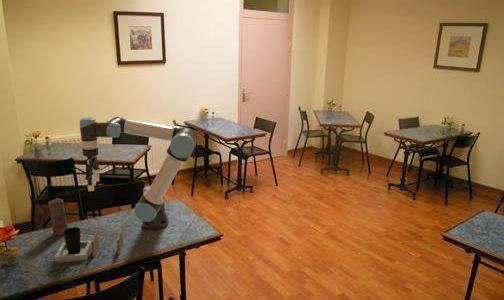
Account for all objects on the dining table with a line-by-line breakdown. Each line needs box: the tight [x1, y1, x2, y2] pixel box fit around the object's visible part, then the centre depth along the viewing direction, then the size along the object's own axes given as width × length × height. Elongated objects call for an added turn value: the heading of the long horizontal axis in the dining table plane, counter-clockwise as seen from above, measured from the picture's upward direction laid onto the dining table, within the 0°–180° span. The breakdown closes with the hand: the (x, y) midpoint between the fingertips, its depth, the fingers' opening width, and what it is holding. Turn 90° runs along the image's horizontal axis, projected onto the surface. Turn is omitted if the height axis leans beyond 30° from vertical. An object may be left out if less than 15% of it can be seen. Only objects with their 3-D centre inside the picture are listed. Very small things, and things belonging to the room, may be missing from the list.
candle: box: [48, 198, 69, 236], centre depth 204 cm, size 8×7×20 cm
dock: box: [54, 240, 92, 264], centre depth 187 cm, size 14×14×3 cm
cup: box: [62, 226, 81, 255], centre depth 186 cm, size 8×8×12 cm
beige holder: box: [91, 230, 124, 257], centre depth 191 cm, size 13×10×8 cm
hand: (94, 185), depth 199 cm, fingers open, 13 cm apart
